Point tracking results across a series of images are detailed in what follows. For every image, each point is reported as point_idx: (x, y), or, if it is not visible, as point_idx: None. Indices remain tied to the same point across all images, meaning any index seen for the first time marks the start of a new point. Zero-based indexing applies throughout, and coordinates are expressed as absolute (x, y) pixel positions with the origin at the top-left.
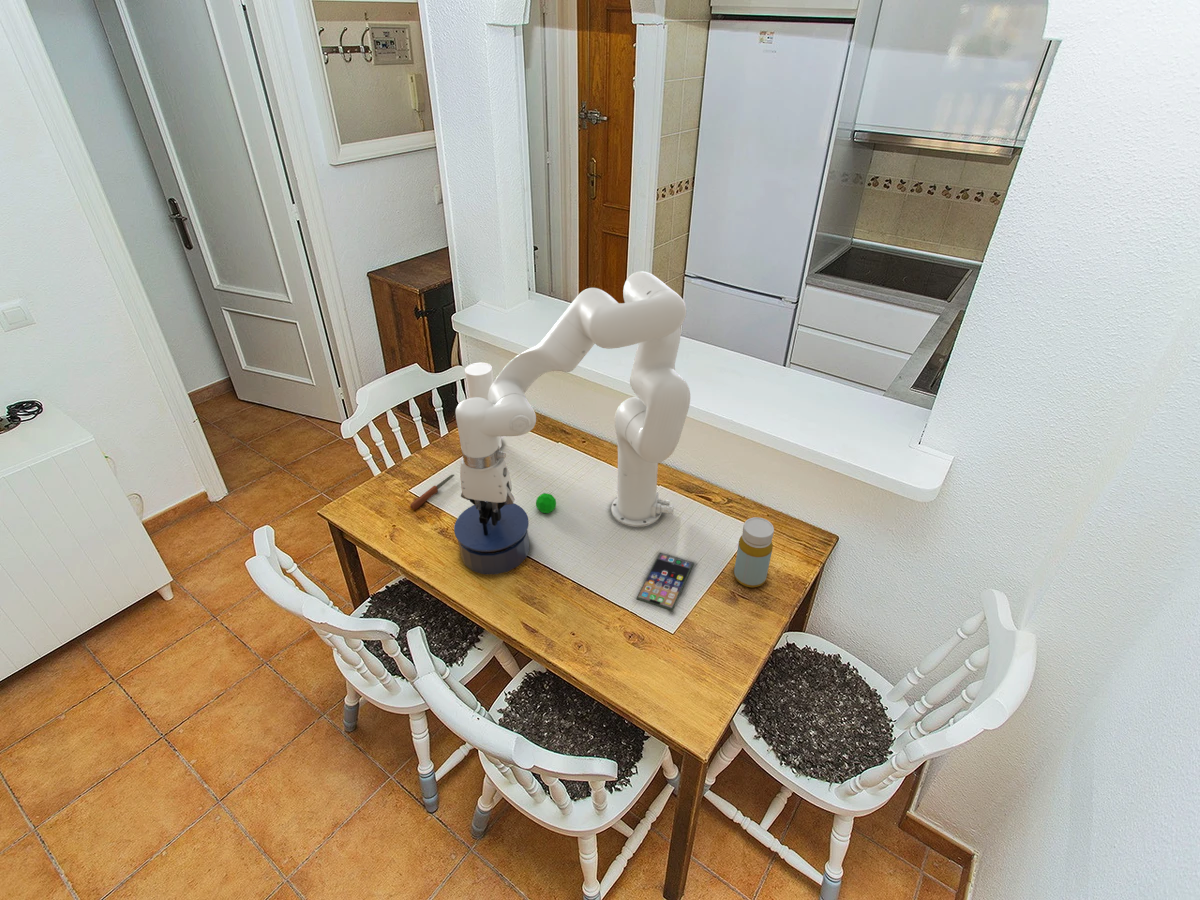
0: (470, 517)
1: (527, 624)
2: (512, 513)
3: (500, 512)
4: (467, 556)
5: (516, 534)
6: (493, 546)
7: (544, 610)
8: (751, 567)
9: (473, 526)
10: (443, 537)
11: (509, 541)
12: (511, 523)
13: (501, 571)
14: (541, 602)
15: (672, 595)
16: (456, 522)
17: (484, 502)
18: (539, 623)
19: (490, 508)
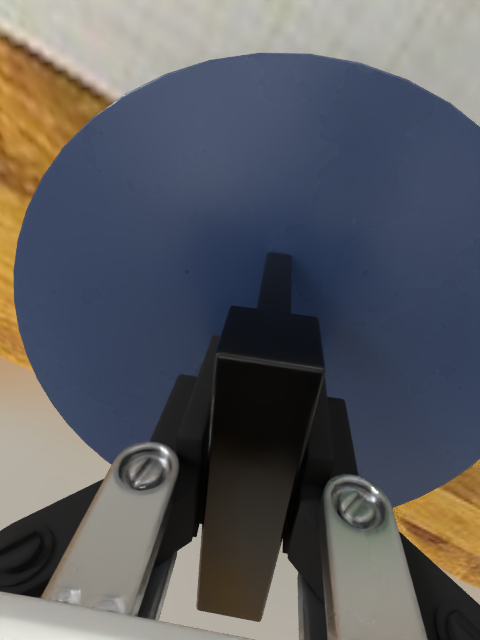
0: (95, 311)
1: (418, 526)
2: (416, 252)
3: (349, 434)
4: None
5: (445, 446)
6: None
7: (474, 496)
8: None
9: (151, 384)
10: (14, 196)
11: (399, 485)
12: (409, 361)
13: None
14: (467, 474)
15: None
16: (33, 356)
17: (180, 505)
18: (454, 525)
19: (270, 547)
